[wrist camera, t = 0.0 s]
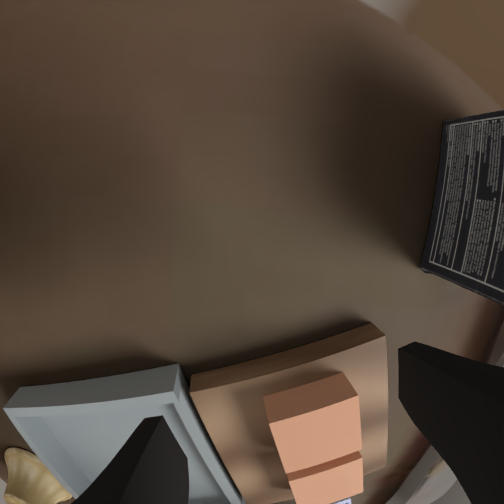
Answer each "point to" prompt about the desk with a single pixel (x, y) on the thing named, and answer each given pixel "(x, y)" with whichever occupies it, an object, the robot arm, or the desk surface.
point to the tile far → (328, 480)
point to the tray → (117, 428)
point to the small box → (469, 207)
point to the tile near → (315, 422)
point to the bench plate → (280, 379)
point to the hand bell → (31, 480)
